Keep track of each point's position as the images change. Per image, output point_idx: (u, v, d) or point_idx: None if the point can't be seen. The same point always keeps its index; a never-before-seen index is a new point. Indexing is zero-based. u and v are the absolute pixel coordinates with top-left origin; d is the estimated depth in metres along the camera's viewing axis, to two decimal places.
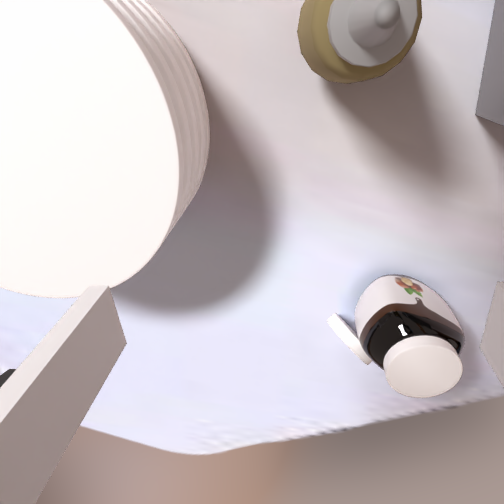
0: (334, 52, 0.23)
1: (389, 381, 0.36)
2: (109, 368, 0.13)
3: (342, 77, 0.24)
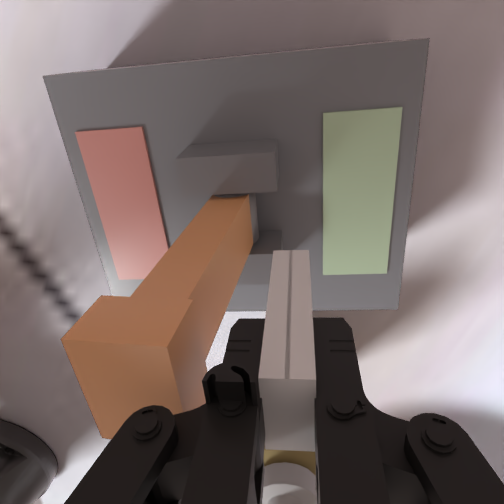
0: None
1: None
2: None
3: None
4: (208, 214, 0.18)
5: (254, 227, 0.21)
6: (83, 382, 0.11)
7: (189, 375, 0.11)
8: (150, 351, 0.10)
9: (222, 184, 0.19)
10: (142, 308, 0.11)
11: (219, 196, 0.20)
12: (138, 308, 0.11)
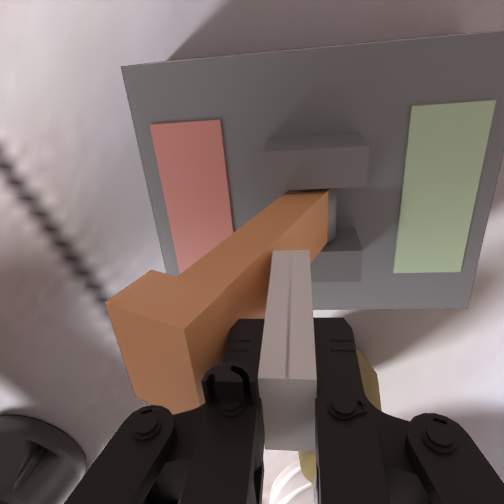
0: None
1: None
2: None
3: None
4: (279, 207, 0.18)
5: (330, 225, 0.21)
6: (121, 344, 0.12)
7: (210, 360, 0.11)
8: (171, 330, 0.10)
9: (310, 178, 0.19)
10: (179, 288, 0.12)
11: (297, 190, 0.20)
12: (175, 288, 0.12)
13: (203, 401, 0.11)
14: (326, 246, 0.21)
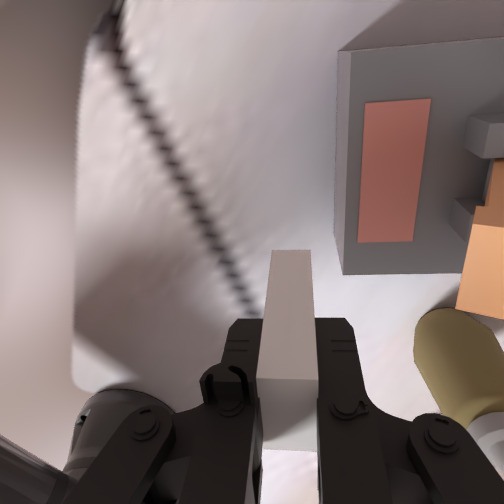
0: None
1: None
2: None
3: None
4: None
5: None
6: (470, 260, 0.15)
7: None
8: None
9: None
10: None
11: (503, 158, 0.23)
12: None
13: None
14: None
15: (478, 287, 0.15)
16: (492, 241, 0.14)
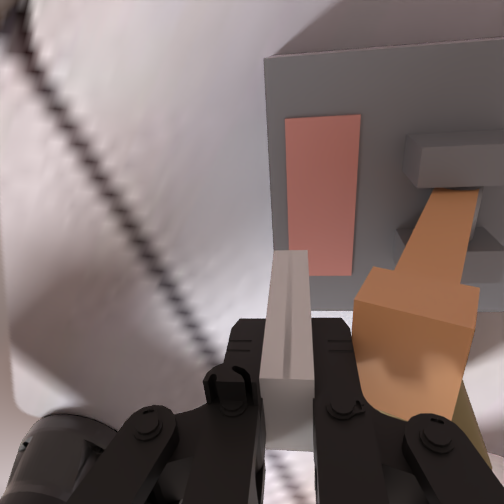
0: None
1: None
2: None
3: None
4: (440, 204, 0.17)
5: (473, 224, 0.20)
6: (356, 343, 0.11)
7: None
8: (451, 329, 0.10)
9: (467, 176, 0.18)
10: (425, 286, 0.11)
11: (444, 187, 0.19)
12: (420, 285, 0.11)
13: None
14: None
15: (370, 377, 0.12)
16: (379, 323, 0.11)
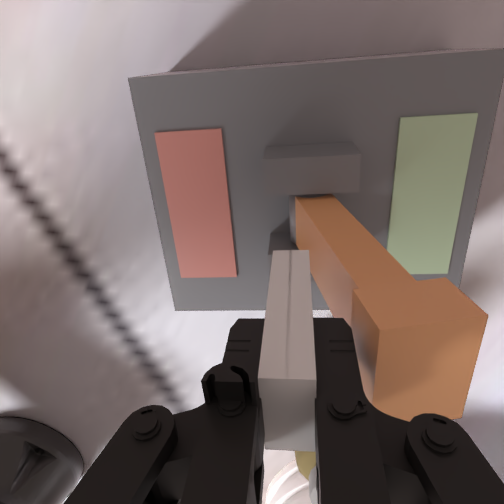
0: None
1: None
2: None
3: None
4: (319, 212, 0.19)
5: None
6: (381, 373, 0.11)
7: None
8: (470, 323, 0.10)
9: (306, 184, 0.20)
10: (412, 292, 0.11)
11: (304, 197, 0.21)
12: (408, 292, 0.11)
13: None
14: None
15: (393, 400, 0.11)
16: (405, 344, 0.10)
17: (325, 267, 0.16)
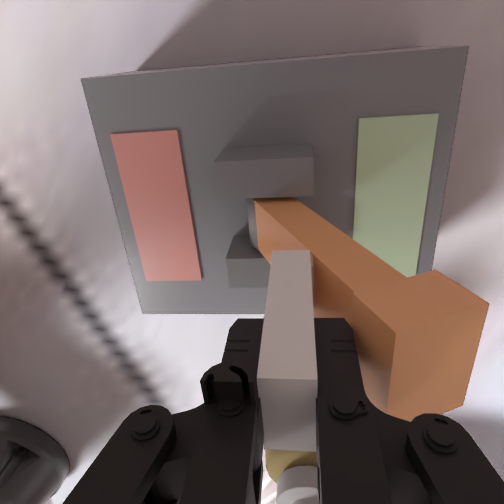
0: None
1: None
2: None
3: None
4: (285, 215, 0.18)
5: None
6: (396, 376, 0.10)
7: None
8: (474, 313, 0.10)
9: (259, 188, 0.20)
10: (411, 288, 0.11)
11: (264, 200, 0.20)
12: (407, 289, 0.11)
13: None
14: None
15: (406, 400, 0.11)
16: (418, 343, 0.10)
17: None
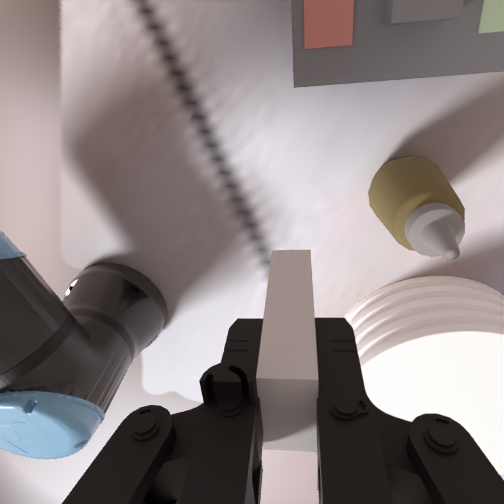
0: None
1: None
2: None
3: None
4: None
5: None
6: None
7: None
8: None
9: None
10: None
11: None
12: None
13: None
14: None
15: None
16: None
17: None
